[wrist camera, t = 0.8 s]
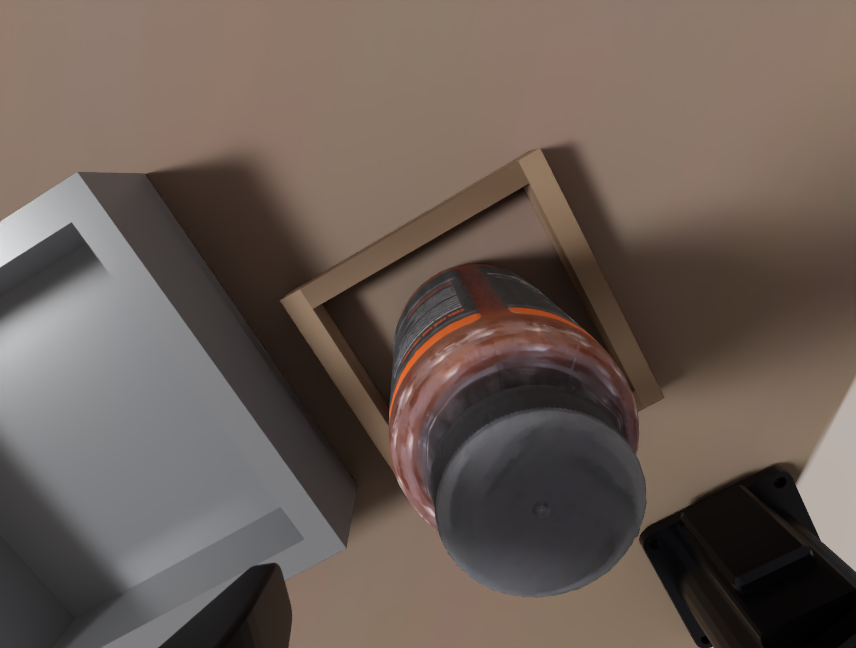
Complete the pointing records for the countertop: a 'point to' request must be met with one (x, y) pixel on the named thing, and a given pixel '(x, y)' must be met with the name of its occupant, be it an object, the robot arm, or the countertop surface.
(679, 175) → the countertop surface
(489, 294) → the supplement bottle
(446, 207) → the tan wooden square frame
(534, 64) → the countertop surface
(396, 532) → the countertop surface
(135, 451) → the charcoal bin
